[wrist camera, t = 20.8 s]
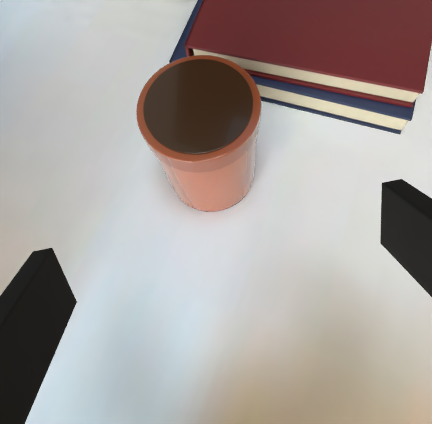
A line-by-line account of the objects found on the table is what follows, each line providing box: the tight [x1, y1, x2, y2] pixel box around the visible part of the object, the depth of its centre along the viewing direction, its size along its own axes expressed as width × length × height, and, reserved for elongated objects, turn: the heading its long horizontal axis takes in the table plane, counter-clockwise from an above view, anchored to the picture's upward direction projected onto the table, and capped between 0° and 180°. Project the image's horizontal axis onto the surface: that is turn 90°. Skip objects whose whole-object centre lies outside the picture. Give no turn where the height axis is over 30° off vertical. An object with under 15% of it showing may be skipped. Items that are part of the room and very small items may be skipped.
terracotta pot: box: [137, 55, 261, 212], centre depth 27 cm, size 8×8×10 cm
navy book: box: [169, 0, 416, 134], centre depth 35 cm, size 22×15×3 cm
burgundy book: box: [184, 0, 432, 108], centre depth 33 cm, size 20×14×2 cm
